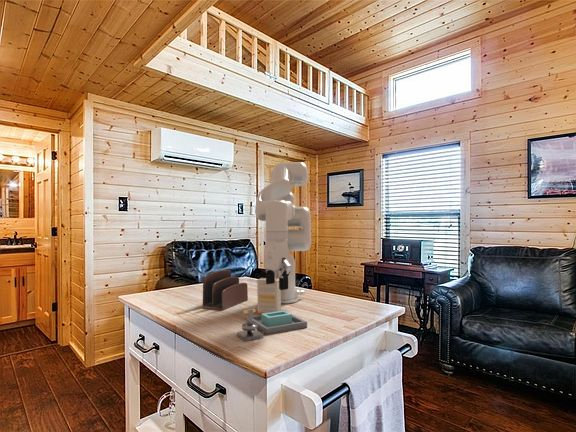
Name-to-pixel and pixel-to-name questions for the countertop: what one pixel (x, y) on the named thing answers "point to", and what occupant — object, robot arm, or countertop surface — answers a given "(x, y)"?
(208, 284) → the letter holder
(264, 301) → the supplement box
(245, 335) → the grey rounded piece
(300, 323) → the tray
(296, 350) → the countertop surface
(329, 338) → the countertop surface
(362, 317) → the countertop surface
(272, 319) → the teal rectangular frame
